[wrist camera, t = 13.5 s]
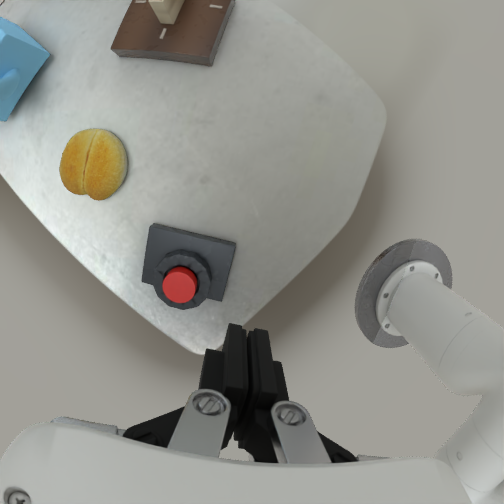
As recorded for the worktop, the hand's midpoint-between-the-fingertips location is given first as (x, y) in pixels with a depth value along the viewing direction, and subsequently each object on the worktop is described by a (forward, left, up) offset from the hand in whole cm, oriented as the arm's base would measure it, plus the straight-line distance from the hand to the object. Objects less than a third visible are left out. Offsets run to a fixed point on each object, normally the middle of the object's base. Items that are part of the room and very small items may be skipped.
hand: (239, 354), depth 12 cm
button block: (+5, +5, -23) cm, 24 cm away
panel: (+14, -25, -23) cm, 36 cm away
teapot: (+38, -16, -23) cm, 47 cm away
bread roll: (+19, -4, -23) cm, 30 cm away
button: (+5, +6, -19) cm, 21 cm away
